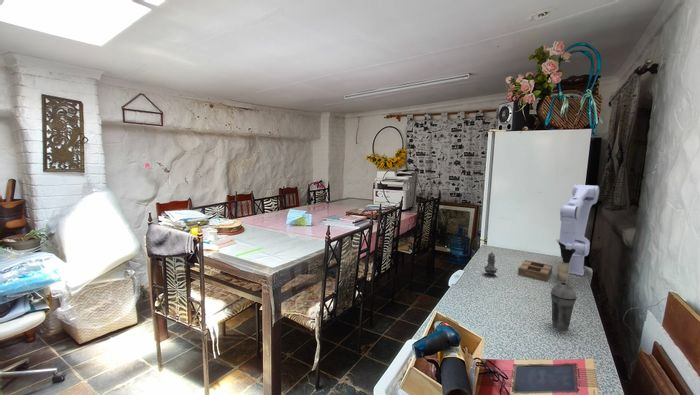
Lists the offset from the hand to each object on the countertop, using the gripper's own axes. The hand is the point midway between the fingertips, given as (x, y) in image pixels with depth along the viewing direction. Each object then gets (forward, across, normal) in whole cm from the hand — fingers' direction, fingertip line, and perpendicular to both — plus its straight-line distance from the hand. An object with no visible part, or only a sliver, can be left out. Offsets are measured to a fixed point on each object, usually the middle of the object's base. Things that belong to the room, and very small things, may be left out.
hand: (565, 260), depth 139 cm
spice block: (+10, -4, -11) cm, 16 cm away
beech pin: (+10, -2, 0) cm, 10 cm away
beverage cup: (+10, +46, -5) cm, 47 cm away
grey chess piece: (+10, +9, -30) cm, 33 cm away
